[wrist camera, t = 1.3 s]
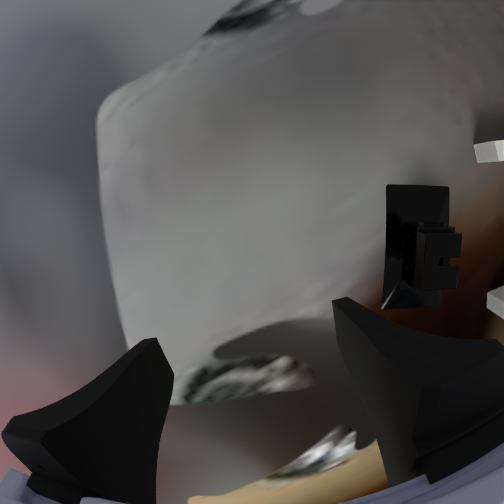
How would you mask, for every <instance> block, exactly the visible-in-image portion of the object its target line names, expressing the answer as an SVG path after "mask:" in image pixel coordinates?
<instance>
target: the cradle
mask: <svg viewBox="0 0 504 504" xmlns="http://www.w3.org/2000/svg"><path fill="white" fill-rule="evenodd" d="M473 146H474V150H475V155H476V160H477V163H485V162H497V161H504V140H498V141H490V142H485V143H480V144H474V145H473ZM487 308H488V309H490V310H491V311H492V312H494V313H495V314H497V315H498V316H499V317H501V318H502V319H504V286H502V287H499V288H497V289H494V290H492V291H489V292H487Z"/></svg>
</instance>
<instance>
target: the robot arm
mask: <svg viewBox="0 0 504 504" xmlns="http://www.w3.org/2000/svg"><path fill="white" fill-rule="evenodd" d="M332 305H333V312H334V320H335V328H336V336H337V343H338V346H339V349H340V352H341V355H342V358H343V361H344V363H345V365H346V367H347V369H348V371H349V373H350V375H351V377H352V379H353V381H354V383H355V385H356V387H357V389H358V391H359V393H360V396H361V397H362V400H363V401H364V404H365V406H366V409H367V411H368V414H369V417H370V420H371V423H372V426H373V429H374V432H375V435H376V439H377V442H378V445H379V449H380V452H381V456H382V460H383V463H384V467H385V471H386V475H387V479H388V484H389V489H386V490H383V491H380V492H377V493H374V494H371V495H367V496H364V497H361V498H357V499H354V500H350V501H346V502H342V503H338V504H504V346H503V345H502V344H501V343H500V342H499V341H498V340H496V339H459V338H450V337H444V336H439V335H434V334H429V333H425V332H421V331H418V330H415V329H412V328H409V327H406V326H403V325H400V324H398V323H396V322H393V321H391V320H389V319H387V318H385V317H383V316H380V315H379V314H377V313H375V312H373V311H371V310H369V309H367V308H366V307H364V306H362V305H360V304H359V303H357V302H355V301H354V300H352V299H350V298H348V297H344V298H340V299H336V300H332ZM173 383H174V373H173V371H172V369H171V367H170V365H169V363H168V361H167V359H166V357H165V355H164V353H163V350H162V348H161V346H160V344H159V342H158V340H157V338H149V339H144V340H142V341H141V342H139V343H138V344H136V345H135V346H134V347H133V348H131V349H130V350H129V351H128V352H127V353H126V354H124V355H123V356H122V357H121V358H120V359H119V360H117V361H116V362H115V363H114V364H113V365H112V366H111V367H109V368H108V369H107V370H105V371H104V372H103V373H102V374H100V375H99V376H98V377H96V378H95V379H94V380H93V381H91V382H90V383H88V384H87V385H85V386H84V387H82V388H81V389H79V390H78V391H76V392H74V393H72V394H71V395H69V396H67V397H65V398H63V399H61V400H59V401H57V402H55V403H53V404H51V405H48V406H46V407H43V408H41V409H38V410H35V411H32V412H28V413H25V414H21V415H18V416H14V417H13V418H12V419H11V420H10V421H9V423H8V424H7V426H6V427H5V429H4V430H3V431H2V434H1V435H2V439H3V441H4V443H5V444H6V446H7V447H8V448H9V449H10V450H11V452H12V453H13V454H14V455H15V456H16V457H17V458H18V459H19V460H20V461H21V462H22V463H23V464H24V465H25V466H26V467H27V468H28V469H30V471H31V472H32V474H31V476H30V477H29V476H27V475H26V474H24V473H22V472H20V471H18V470H16V469H13V468H11V467H9V468H8V470H7V472H6V473H5V475H4V477H3V479H2V481H1V483H0V504H156V470H157V458H158V450H159V442H160V437H161V433H162V430H163V426H164V422H165V419H166V415H167V411H168V408H169V404H170V400H171V396H172V391H173Z"/></svg>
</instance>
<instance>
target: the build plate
mask: <svg viewBox="0 0 504 504" xmlns="http://www.w3.org/2000/svg"><path fill="white" fill-rule="evenodd" d="M461 241H462V234H461V233H458V232H455V227H452V226H449V187H447V186H426V185H390V184H388V185H387V186H386V251H385V270H384V284H383V296H382V306H381V308H382V309H383V310H385V309H403V308H419V307H433V306H439V305H440V304H441V297H442V291H443V289H452V288H456V287H457V280H458V272H459V265H457V264H449V262H450V258H452V257H460V253H461Z"/></svg>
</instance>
